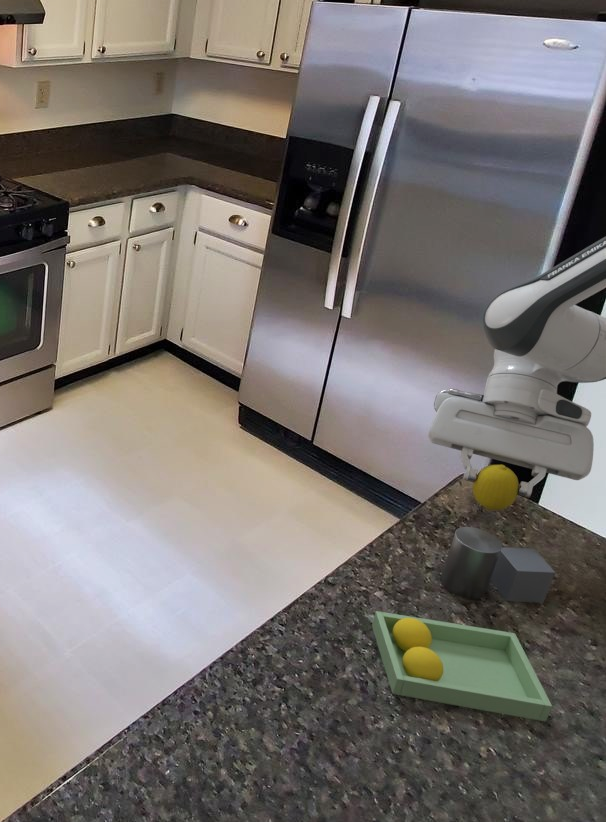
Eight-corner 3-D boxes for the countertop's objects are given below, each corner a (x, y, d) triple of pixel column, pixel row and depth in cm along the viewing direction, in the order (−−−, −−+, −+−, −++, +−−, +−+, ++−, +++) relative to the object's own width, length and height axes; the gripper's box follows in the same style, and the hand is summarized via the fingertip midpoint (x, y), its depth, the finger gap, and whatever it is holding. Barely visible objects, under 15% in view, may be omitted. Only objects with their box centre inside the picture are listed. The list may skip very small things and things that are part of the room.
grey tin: (476, 578, 117) (493, 529, 113) (489, 605, 112) (508, 555, 108) (434, 572, 118) (449, 523, 114) (445, 599, 113) (462, 549, 109)
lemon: (466, 494, 124) (480, 451, 120) (509, 505, 121) (524, 461, 118) (466, 513, 120) (480, 469, 116) (510, 525, 117) (526, 480, 114)
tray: (508, 650, 105) (515, 633, 103) (544, 724, 94) (552, 706, 93) (370, 627, 108) (375, 610, 107) (391, 697, 98) (397, 678, 97)
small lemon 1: (421, 638, 106) (429, 613, 104) (431, 664, 102) (440, 638, 100) (385, 632, 107) (393, 607, 105) (393, 657, 103) (401, 632, 101)
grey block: (521, 580, 116) (534, 548, 114) (542, 605, 112) (555, 572, 109) (485, 579, 117) (497, 546, 114) (505, 604, 112) (517, 570, 110)
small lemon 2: (432, 667, 101) (441, 642, 100) (443, 695, 98) (452, 669, 96) (394, 661, 102) (402, 636, 101) (403, 688, 99) (412, 662, 97)
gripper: (440, 378, 124) (418, 461, 121) (605, 414, 113) (585, 506, 110) (436, 392, 129) (415, 471, 126) (594, 427, 119) (574, 515, 115)
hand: (496, 487), depth 118 cm, fingers closed on lemon, 5 cm apart
